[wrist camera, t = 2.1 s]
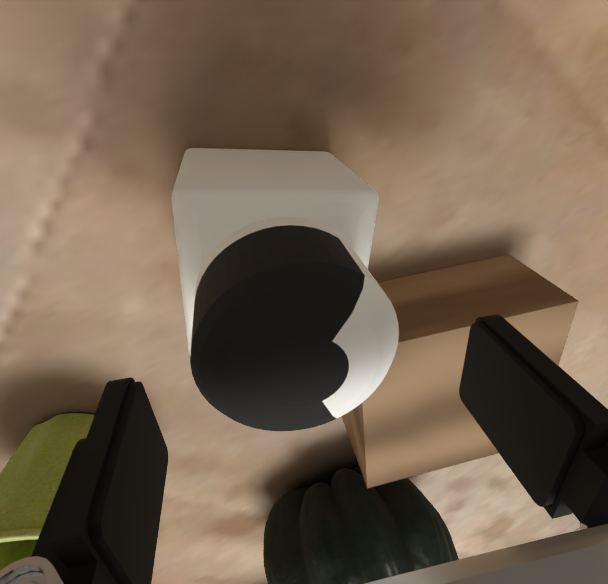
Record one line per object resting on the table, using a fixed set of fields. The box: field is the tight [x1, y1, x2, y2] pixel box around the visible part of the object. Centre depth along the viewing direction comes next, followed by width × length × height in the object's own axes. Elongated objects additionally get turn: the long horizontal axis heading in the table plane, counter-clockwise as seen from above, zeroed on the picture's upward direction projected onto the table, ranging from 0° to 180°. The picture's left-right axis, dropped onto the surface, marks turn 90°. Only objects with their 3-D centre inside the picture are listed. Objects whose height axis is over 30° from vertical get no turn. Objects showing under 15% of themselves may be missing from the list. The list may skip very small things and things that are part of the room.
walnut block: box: [343, 254, 579, 488], centre depth 25 cm, size 12×12×6 cm
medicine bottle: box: [171, 148, 399, 431], centre depth 15 cm, size 7×7×12 cm
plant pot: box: [0, 413, 95, 570], centre depth 22 cm, size 9×9×9 cm
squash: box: [263, 466, 459, 584], centre depth 31 cm, size 14×15×15 cm
